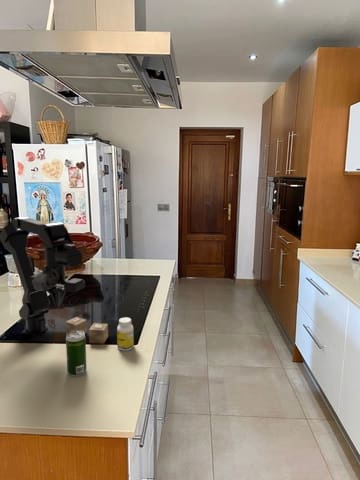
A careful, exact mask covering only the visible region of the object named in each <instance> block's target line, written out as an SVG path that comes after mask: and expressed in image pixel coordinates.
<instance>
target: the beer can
mask: <svg viewBox="0 0 360 480" xmlns="http://www.w3.org/2000/svg"><path fill="white" fill-rule="evenodd" d="M85 334H86V333H85ZM85 334H84V332H83V331H82V330H73V331H70V332H68V333H67V334H66V337H65V346H66V347H65V350H66V366H67V367H66V368H67V369H66V370H67V374H68V375H69V376H70V377H75V378H76V377H81V376H82V375H84V374H85V373H86V372H87V367H88V366H87V348H86V347H87V346H86V342H87V341H86V335H85Z"/></svg>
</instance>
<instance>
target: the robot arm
mask: <svg viewBox="0 0 360 480" xmlns="http://www.w3.org/2000/svg"><path fill="white" fill-rule="evenodd" d="M30 234H34V235H38V238H39V240H42V241H43V243H42V244H41V247H42V248H44V253H45V254H44V256H45V257H44V258H45V265H43V266H42V272H40V273H36V274H35V273H34V269H33V267H32V263H31V260H30V258H29V254H28V252H27V246H28V243H29V239H28V237H29V235H30ZM0 242H1V243H2V245H3V248H4V249H5V250H6V251H7V252H9V253H10V254H11V256H12V259H13V261H14V265H15V268H16V271H17V275H18V277H19V280H20V283H21V286H22V289H23V295H22V299H21V301H22V306H21V307H20V309H19V310H18V315H19V317H20V318H21V319H23V320H24V326H25V327H24V328H25V329H24V330H22V331H21V334H22V333H23V334H27V335H31V336H35V337H36V336H39V335H40V334H41V333H43V332H45V331H47V330H49V327H48V326H47V323H46V318H45V314H49V311H50V307H51V300H52V302H53V304H54V306H55V308H57V309H58V308H59V307H61V304H62V302H63V299H64V297H65V295H66V294H67V292H68V293H77V292H79V291H81V290H83V289H84V288H86V282H85V280H84V279H82V278H72V279H70V280H68V279H69V276H68V275H67V274H66V267H70V268H76V267H78V266H79V265H81V263H82V260H83V254H82V252H81V250H80V249H78V248H77V245H76V244H74V241H73V238H72V236H71V235H70V233H69V231H68V229H67V227H66V225H65V224H64V223H63V222H45V221H40V220H37V219H34V218H31V217H29V216H20V217H17V216H16V217H15V218H13V219H12V220H11V221H10V223H8V224H7V225H5V226H4V227H3V228H2V230H1V232H0ZM48 294H49V295H48ZM49 296H50V298H51V300H50V298H49Z"/></svg>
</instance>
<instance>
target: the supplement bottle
mask: <svg viewBox="0 0 360 480" xmlns="http://www.w3.org/2000/svg"><path fill="white" fill-rule="evenodd" d="M134 335H135V334H134V325H133V324H132V319H131V318H130V317H127V316H125V317H121V318H119V320H118V325H117V328H116V337H117V338H116V345H117V349H118V350H120V351H129V350H132V349H133V348H134V344H135V343H134V342H135V341H134Z"/></svg>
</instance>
